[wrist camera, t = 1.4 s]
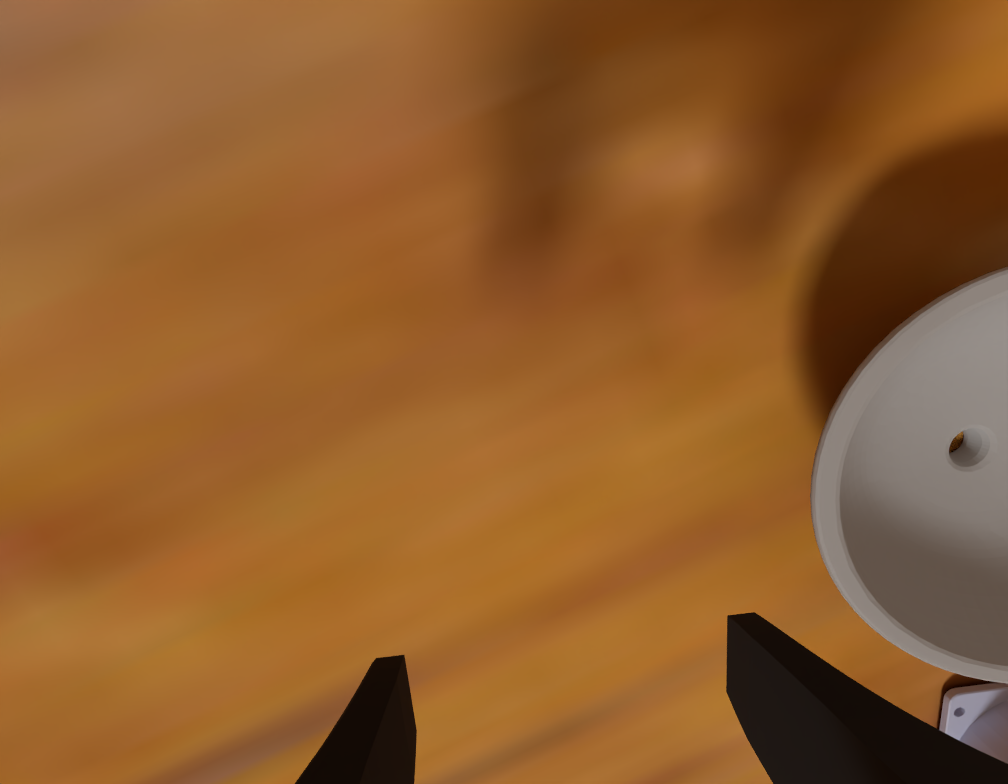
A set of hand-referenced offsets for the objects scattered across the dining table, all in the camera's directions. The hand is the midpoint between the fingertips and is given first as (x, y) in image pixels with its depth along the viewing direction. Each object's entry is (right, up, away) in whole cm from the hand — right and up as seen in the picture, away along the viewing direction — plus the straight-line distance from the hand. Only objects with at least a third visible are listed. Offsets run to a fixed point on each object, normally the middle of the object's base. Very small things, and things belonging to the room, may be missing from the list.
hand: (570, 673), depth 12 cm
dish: (+16, +4, +10) cm, 20 cm away
